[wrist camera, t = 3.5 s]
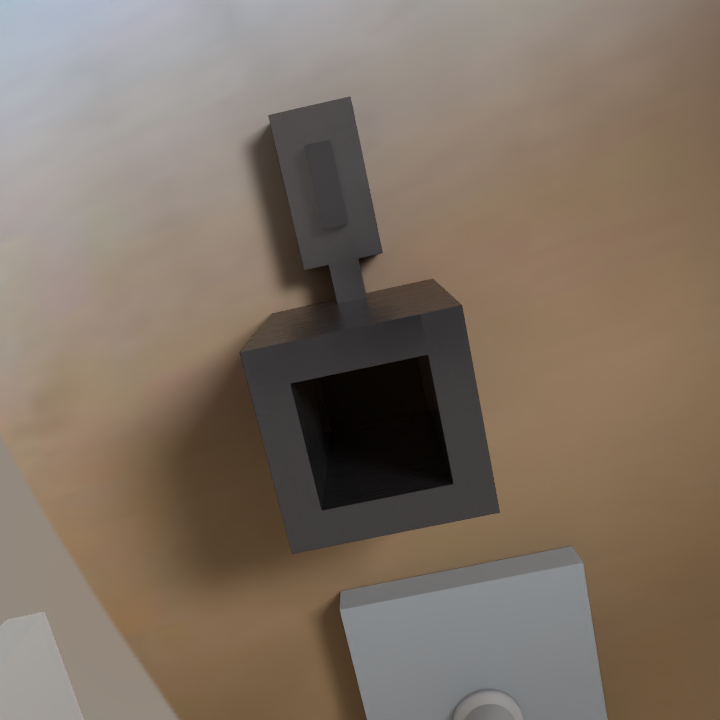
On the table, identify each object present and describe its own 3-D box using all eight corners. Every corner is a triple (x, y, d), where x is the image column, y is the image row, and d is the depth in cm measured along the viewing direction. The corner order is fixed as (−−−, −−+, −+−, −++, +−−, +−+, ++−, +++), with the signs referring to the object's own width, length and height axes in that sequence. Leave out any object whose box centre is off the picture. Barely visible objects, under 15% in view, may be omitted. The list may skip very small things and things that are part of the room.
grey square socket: (227, 130, 27) (173, 97, 19) (397, 91, 26) (413, 41, 19) (309, 464, 30) (292, 553, 22) (462, 433, 30) (499, 512, 22)
